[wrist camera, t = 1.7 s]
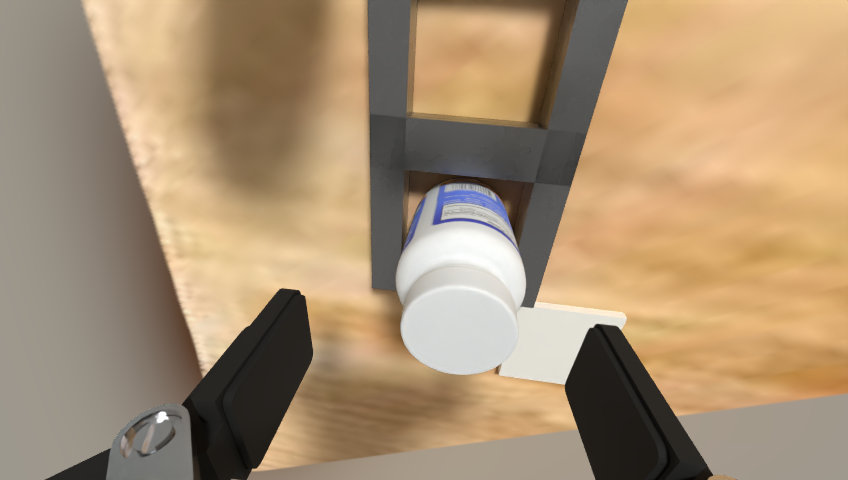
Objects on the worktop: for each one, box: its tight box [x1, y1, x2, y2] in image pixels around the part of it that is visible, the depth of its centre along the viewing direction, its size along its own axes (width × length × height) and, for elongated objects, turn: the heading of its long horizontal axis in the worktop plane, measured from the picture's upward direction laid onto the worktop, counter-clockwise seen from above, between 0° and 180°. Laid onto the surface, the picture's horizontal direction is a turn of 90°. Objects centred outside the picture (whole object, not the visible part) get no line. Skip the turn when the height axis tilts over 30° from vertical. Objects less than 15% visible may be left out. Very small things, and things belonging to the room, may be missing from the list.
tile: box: [498, 302, 627, 384], centre depth 22 cm, size 7×7×1 cm
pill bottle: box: [396, 178, 526, 375], centre depth 15 cm, size 5×5×10 cm
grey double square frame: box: [368, 0, 628, 308], centre depth 16 cm, size 10×18×2 cm, turn 176°
